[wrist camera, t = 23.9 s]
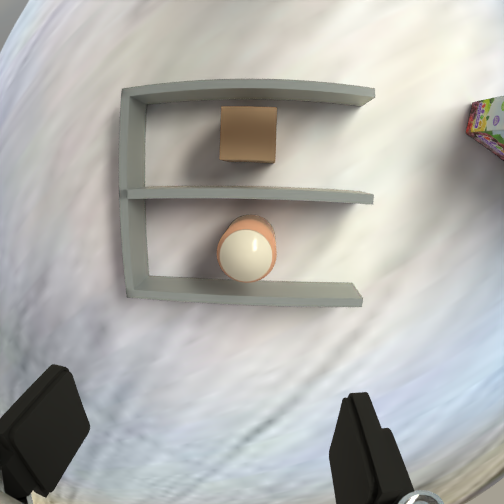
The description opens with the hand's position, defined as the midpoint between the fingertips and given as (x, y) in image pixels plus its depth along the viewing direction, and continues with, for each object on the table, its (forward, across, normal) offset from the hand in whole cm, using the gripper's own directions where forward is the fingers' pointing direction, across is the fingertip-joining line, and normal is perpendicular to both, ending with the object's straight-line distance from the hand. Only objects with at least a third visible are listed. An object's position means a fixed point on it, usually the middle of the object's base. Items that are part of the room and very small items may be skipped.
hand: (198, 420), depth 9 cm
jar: (+28, 0, 0) cm, 28 cm away
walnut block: (+28, 0, -11) cm, 31 cm away
